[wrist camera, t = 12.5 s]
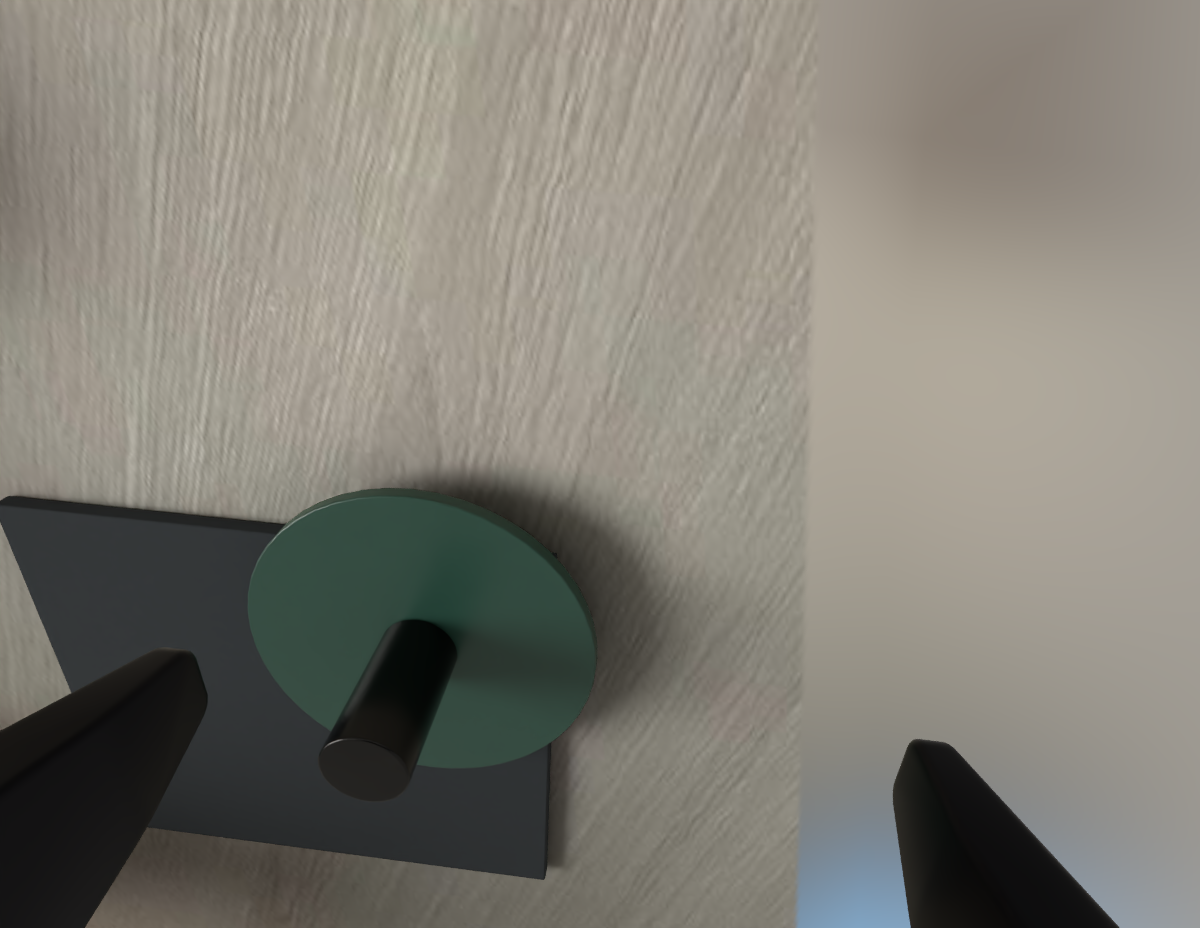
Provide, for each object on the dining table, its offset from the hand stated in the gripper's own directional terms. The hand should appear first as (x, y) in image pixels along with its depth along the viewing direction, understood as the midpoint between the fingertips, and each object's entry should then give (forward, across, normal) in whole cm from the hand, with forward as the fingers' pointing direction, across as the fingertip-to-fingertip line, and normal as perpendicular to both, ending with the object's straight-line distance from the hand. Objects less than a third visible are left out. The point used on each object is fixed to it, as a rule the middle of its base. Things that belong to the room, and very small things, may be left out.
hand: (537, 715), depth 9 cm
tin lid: (+10, +6, +9) cm, 15 cm away
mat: (+11, +11, +14) cm, 21 cm away
